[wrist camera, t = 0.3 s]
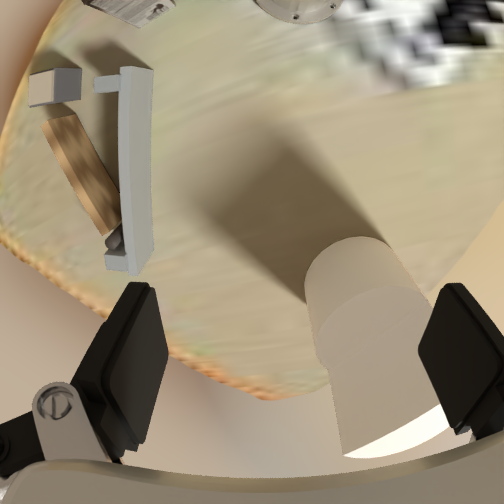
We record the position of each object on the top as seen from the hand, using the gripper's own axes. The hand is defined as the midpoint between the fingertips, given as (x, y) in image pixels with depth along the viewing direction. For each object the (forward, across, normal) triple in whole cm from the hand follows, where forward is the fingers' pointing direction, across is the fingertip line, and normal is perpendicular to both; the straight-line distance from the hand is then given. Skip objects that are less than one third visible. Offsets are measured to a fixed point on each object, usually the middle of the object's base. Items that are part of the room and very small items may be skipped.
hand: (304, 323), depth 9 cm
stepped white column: (+36, -15, +22) cm, 45 cm away
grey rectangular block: (+36, +30, -12) cm, 48 cm away
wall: (+36, +19, +2) cm, 41 cm away
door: (+35, +25, +3) cm, 44 cm away
